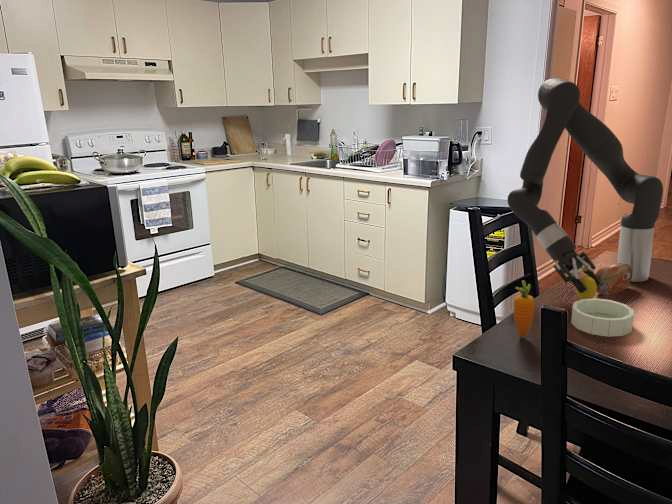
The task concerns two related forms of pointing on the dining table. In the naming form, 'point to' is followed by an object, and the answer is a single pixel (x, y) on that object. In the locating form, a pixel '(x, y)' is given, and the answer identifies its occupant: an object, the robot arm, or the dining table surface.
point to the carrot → (523, 310)
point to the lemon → (590, 286)
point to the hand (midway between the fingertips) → (591, 288)
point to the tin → (613, 278)
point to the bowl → (602, 317)
